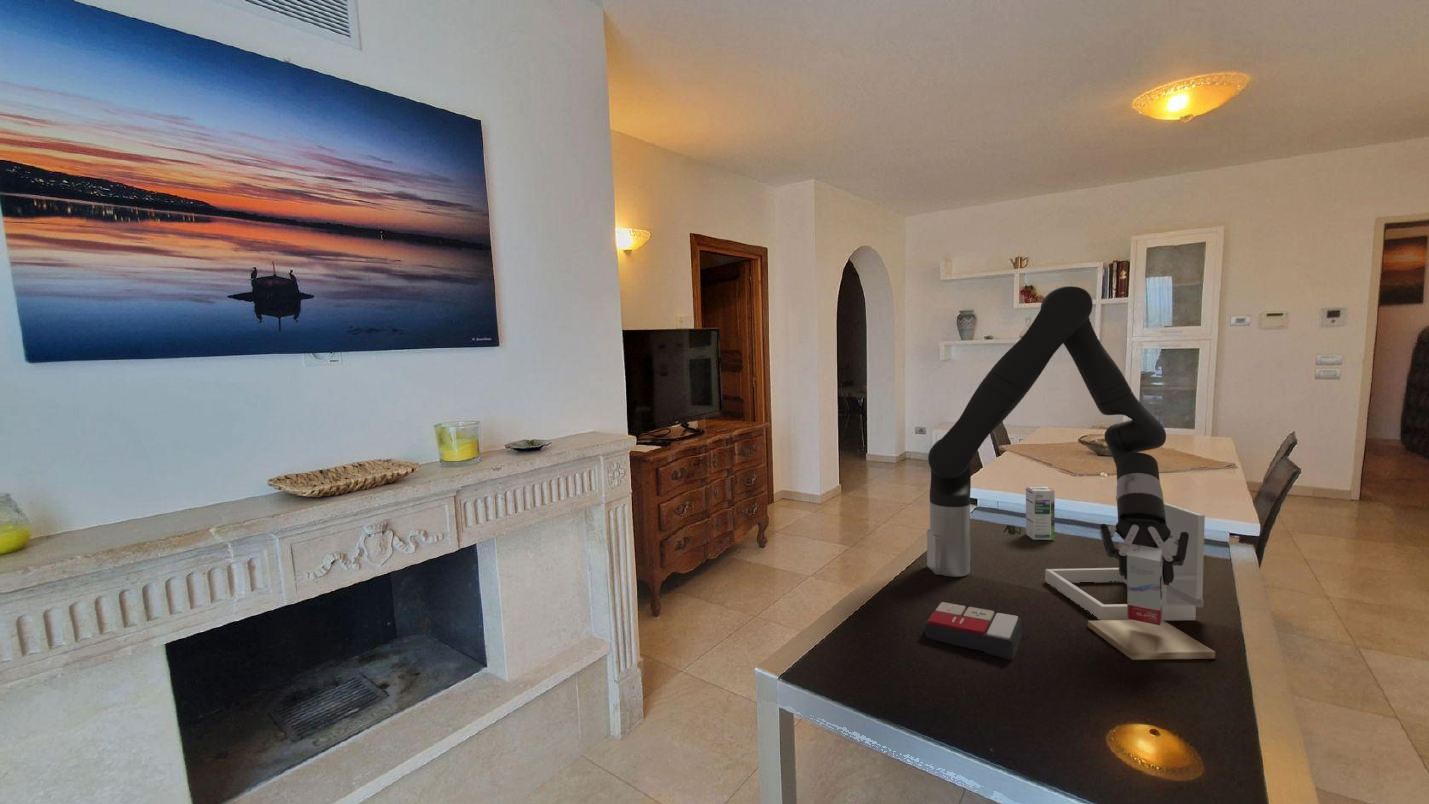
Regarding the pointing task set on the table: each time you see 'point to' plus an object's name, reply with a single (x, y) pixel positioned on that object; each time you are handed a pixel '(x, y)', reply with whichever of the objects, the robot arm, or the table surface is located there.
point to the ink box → (1144, 584)
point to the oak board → (1150, 640)
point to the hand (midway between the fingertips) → (1146, 580)
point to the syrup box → (1040, 513)
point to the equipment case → (1176, 595)
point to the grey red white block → (975, 629)
